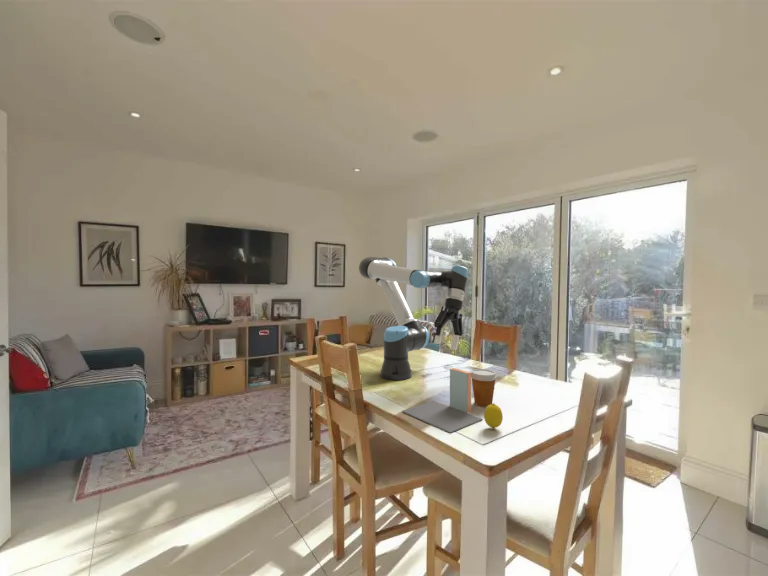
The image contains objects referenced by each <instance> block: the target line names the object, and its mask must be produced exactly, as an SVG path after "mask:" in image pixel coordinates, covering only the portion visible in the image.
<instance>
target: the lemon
mask: <svg viewBox="0 0 768 576" xmlns="http://www.w3.org/2000/svg"><path fill="white" fill-rule="evenodd" d="M483 416H484V417H483V418H484V422H485V423H486V425H487V426H488V427H490V428H491V429H492V430H494V429H496V428H499V427H500V426H501V424H502V423H503V419H504V418H503V411H502V409H501V407H499V405H497V404H496V403H494V402H492V404H490V405H488V406H487V407H485V409H484V413H483Z"/></svg>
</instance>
